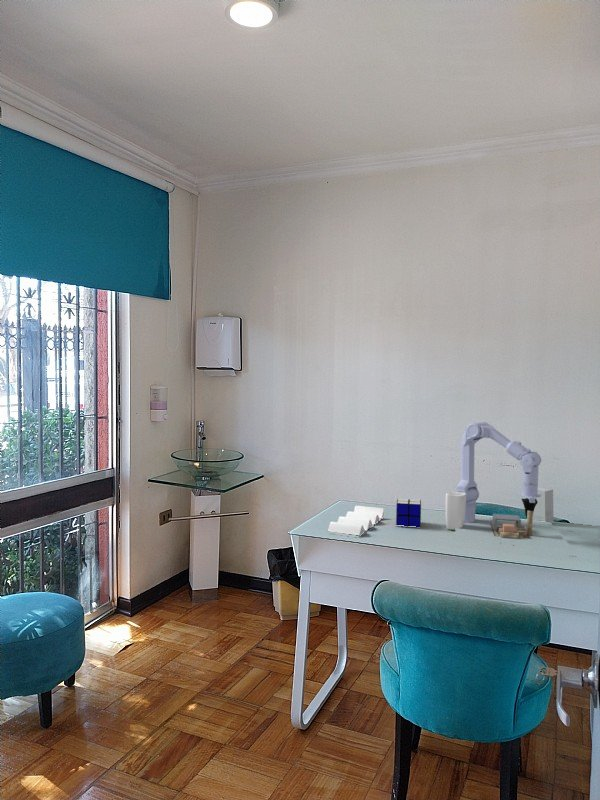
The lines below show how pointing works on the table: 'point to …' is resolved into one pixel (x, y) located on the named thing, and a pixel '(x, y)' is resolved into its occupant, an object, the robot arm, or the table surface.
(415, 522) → the puzzle cube
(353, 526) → the white ridged rack
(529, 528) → the slider
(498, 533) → the deck
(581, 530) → the table surface
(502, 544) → the table surface
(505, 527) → the block
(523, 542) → the table surface
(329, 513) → the table surface
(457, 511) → the cup
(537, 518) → the skincare box
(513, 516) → the tunnel
